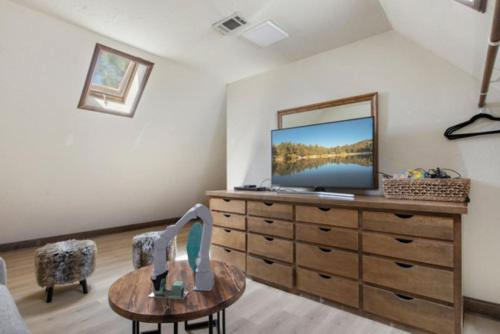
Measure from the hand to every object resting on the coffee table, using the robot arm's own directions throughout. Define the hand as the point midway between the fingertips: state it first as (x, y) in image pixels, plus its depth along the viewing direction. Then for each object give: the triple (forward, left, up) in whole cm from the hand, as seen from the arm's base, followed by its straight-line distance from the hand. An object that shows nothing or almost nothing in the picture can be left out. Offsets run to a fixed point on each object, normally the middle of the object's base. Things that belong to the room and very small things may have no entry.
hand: (159, 288), depth 130 cm
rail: (-5, 0, -3) cm, 6 cm away
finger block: (0, 0, -2) cm, 2 cm away
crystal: (-10, -31, -3) cm, 33 cm away
